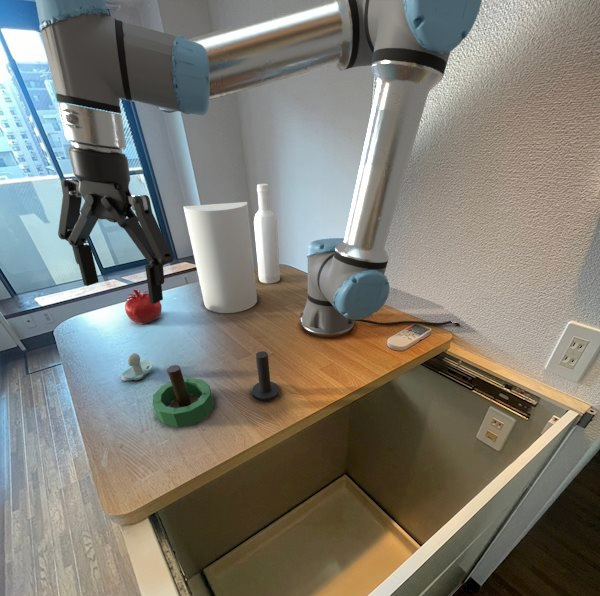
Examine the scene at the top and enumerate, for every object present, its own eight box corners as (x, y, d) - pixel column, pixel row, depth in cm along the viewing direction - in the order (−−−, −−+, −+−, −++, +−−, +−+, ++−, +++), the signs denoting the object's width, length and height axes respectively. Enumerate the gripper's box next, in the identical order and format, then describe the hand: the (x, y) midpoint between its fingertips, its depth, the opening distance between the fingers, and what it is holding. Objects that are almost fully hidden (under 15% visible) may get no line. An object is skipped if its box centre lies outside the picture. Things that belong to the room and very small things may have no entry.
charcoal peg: (276, 382, 74) (273, 344, 68) (282, 399, 70) (279, 360, 63) (250, 387, 73) (244, 349, 67) (254, 404, 69) (249, 365, 62)
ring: (211, 386, 73) (208, 373, 71) (215, 420, 65) (211, 406, 63) (159, 395, 71) (154, 382, 69) (156, 431, 63) (150, 418, 61)
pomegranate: (170, 317, 99) (162, 287, 93) (140, 330, 94) (129, 299, 87) (153, 308, 104) (143, 279, 98) (123, 319, 98) (111, 289, 92)
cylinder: (262, 308, 103) (252, 207, 85) (206, 316, 99) (184, 212, 81) (252, 288, 116) (242, 196, 97) (202, 294, 112) (182, 200, 94)
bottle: (281, 276, 124) (277, 182, 105) (278, 284, 118) (273, 186, 99) (261, 275, 125) (252, 182, 105) (257, 283, 119) (247, 186, 99)
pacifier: (116, 381, 76) (135, 387, 73) (104, 358, 72) (124, 364, 69) (140, 364, 81) (158, 369, 78) (130, 342, 77) (149, 347, 74)
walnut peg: (200, 396, 71) (189, 357, 64) (201, 414, 67) (189, 374, 60) (171, 401, 70) (157, 362, 63) (170, 419, 65) (155, 380, 59)
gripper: (-1, 130, 46) (47, 281, 58) (159, 164, 42) (172, 316, 55) (46, 134, 51) (81, 271, 64) (189, 164, 48) (195, 302, 61)
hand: (123, 292), depth 60 cm, fingers open, 13 cm apart
